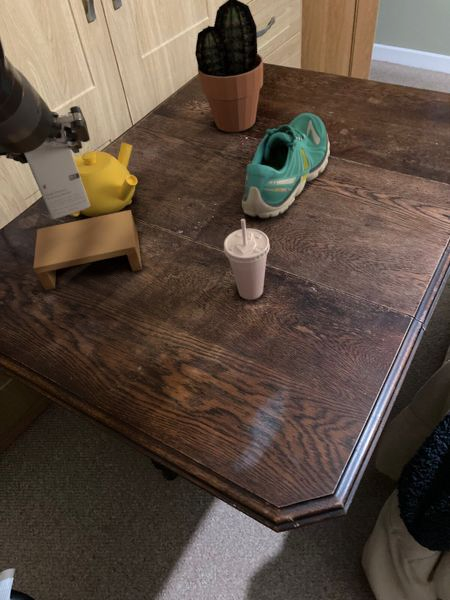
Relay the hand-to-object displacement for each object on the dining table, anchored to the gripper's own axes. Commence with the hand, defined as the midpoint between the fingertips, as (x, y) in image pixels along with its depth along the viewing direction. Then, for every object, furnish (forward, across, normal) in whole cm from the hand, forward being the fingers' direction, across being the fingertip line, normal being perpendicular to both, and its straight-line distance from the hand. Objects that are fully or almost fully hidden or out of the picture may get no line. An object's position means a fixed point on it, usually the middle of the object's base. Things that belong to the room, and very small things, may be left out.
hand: (49, 151), depth 69 cm
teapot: (+25, -4, +4) cm, 26 cm away
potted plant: (+40, -33, -11) cm, 53 cm away
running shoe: (+22, -38, +7) cm, 44 cm away
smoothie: (+4, -24, +26) cm, 35 cm away
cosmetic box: (+5, 0, +7) cm, 9 cm away
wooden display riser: (+14, 0, +15) cm, 20 cm away
